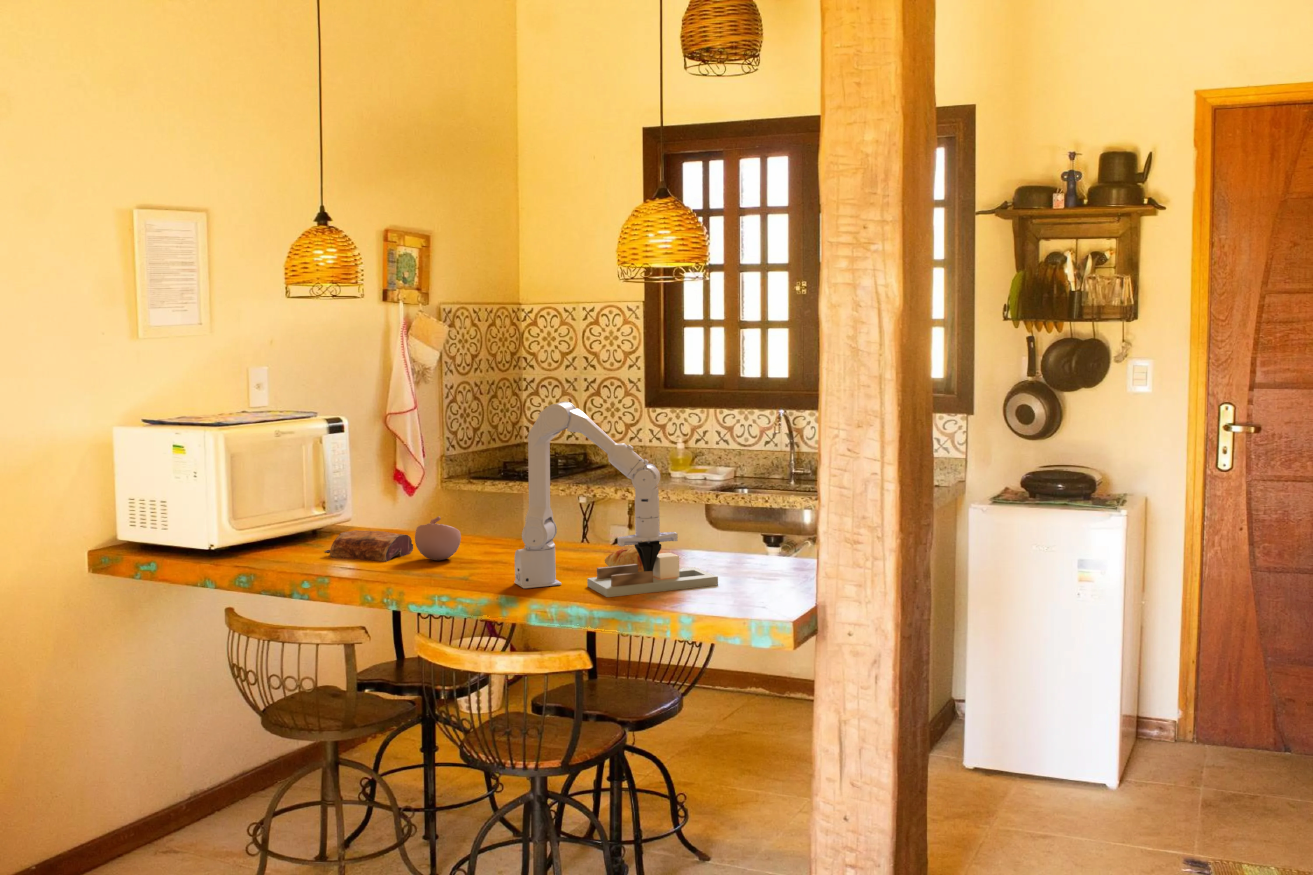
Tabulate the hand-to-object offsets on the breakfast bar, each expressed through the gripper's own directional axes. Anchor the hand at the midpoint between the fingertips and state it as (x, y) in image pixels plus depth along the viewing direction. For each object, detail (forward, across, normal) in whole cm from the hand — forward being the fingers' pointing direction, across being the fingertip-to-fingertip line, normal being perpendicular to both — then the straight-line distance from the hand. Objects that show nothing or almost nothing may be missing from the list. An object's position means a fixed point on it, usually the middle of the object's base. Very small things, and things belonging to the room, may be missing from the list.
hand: (648, 573), depth 301 cm
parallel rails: (+1, -6, 0) cm, 6 cm away
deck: (+3, +1, 0) cm, 3 cm away
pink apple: (+3, -37, +56) cm, 68 cm away
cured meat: (+4, -53, +76) cm, 93 cm away
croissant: (+3, +5, +18) cm, 19 cm away
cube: (+1, +4, 0) cm, 4 cm away
